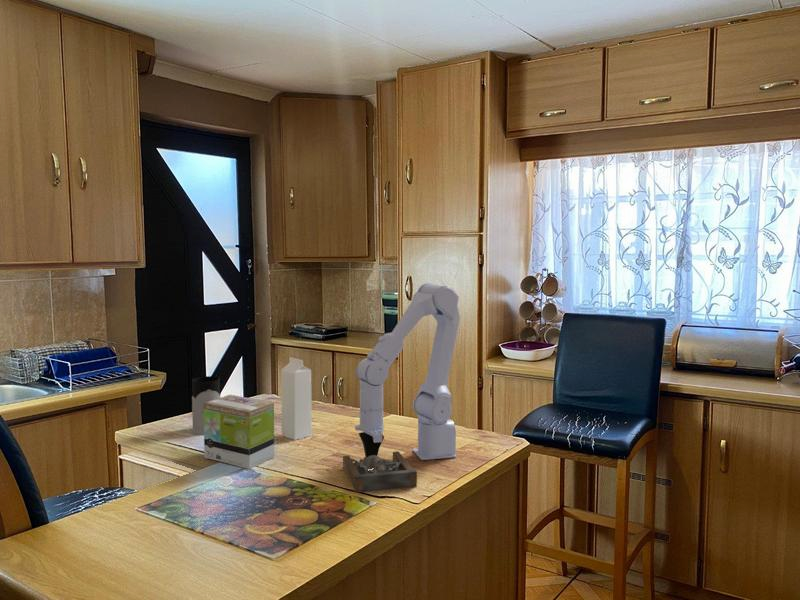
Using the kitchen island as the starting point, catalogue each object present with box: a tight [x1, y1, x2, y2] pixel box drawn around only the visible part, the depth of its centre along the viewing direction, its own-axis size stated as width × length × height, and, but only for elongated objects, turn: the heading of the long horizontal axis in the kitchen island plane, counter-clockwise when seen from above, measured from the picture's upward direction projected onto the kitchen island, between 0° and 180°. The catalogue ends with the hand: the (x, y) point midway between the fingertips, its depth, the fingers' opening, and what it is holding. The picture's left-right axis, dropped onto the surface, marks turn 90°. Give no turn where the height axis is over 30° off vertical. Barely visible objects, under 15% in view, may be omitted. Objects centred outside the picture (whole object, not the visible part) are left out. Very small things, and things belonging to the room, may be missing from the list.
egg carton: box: [350, 455, 401, 474], centre depth 150 cm, size 11×8×4 cm
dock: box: [342, 451, 418, 493], centre depth 149 cm, size 14×16×4 cm
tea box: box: [203, 394, 275, 470], centre depth 160 cm, size 15×10×15 cm, turn 62°
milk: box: [280, 357, 313, 441], centre depth 178 cm, size 6×6×22 cm
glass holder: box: [190, 375, 222, 436], centre depth 185 cm, size 9×14×15 cm, turn 28°
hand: (371, 462), depth 156 cm, fingers closed
